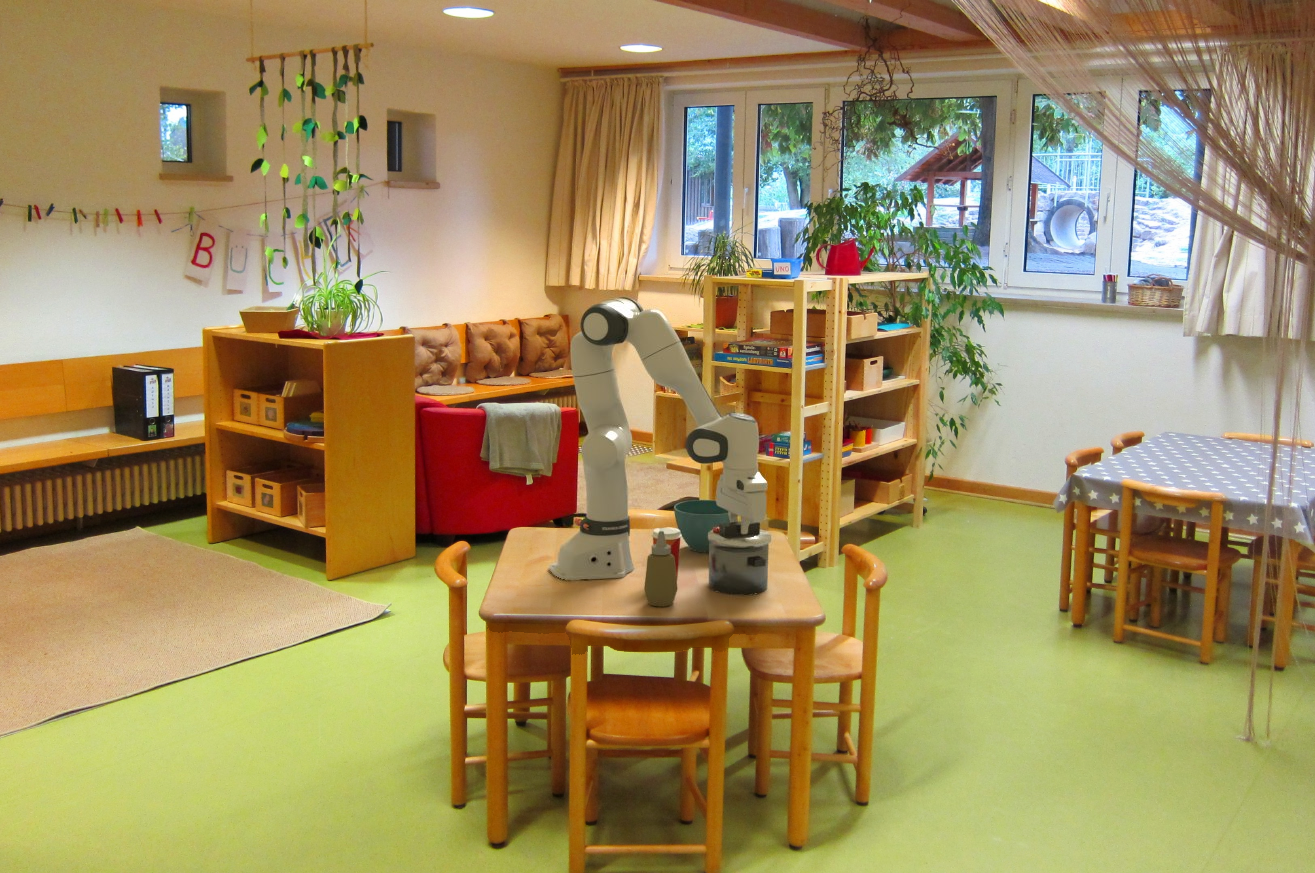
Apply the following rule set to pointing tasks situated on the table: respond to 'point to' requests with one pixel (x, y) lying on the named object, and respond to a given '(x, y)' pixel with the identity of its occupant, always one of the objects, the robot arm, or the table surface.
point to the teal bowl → (699, 521)
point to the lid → (739, 535)
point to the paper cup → (670, 542)
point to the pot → (738, 569)
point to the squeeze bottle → (660, 574)
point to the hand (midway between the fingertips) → (739, 531)
